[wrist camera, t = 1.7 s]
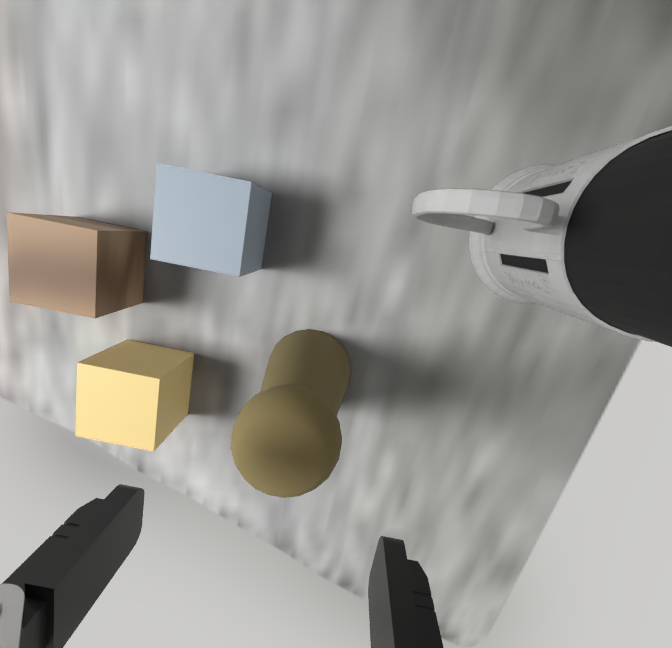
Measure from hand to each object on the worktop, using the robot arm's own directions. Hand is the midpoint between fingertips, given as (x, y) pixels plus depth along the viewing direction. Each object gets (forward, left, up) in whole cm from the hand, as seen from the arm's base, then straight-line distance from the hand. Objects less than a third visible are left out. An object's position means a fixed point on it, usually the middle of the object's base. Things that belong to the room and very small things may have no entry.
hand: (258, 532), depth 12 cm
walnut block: (-5, -15, -15) cm, 22 cm away
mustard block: (+3, -11, -15) cm, 19 cm away
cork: (0, 0, -15) cm, 15 cm away
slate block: (-9, -7, -15) cm, 19 cm away
